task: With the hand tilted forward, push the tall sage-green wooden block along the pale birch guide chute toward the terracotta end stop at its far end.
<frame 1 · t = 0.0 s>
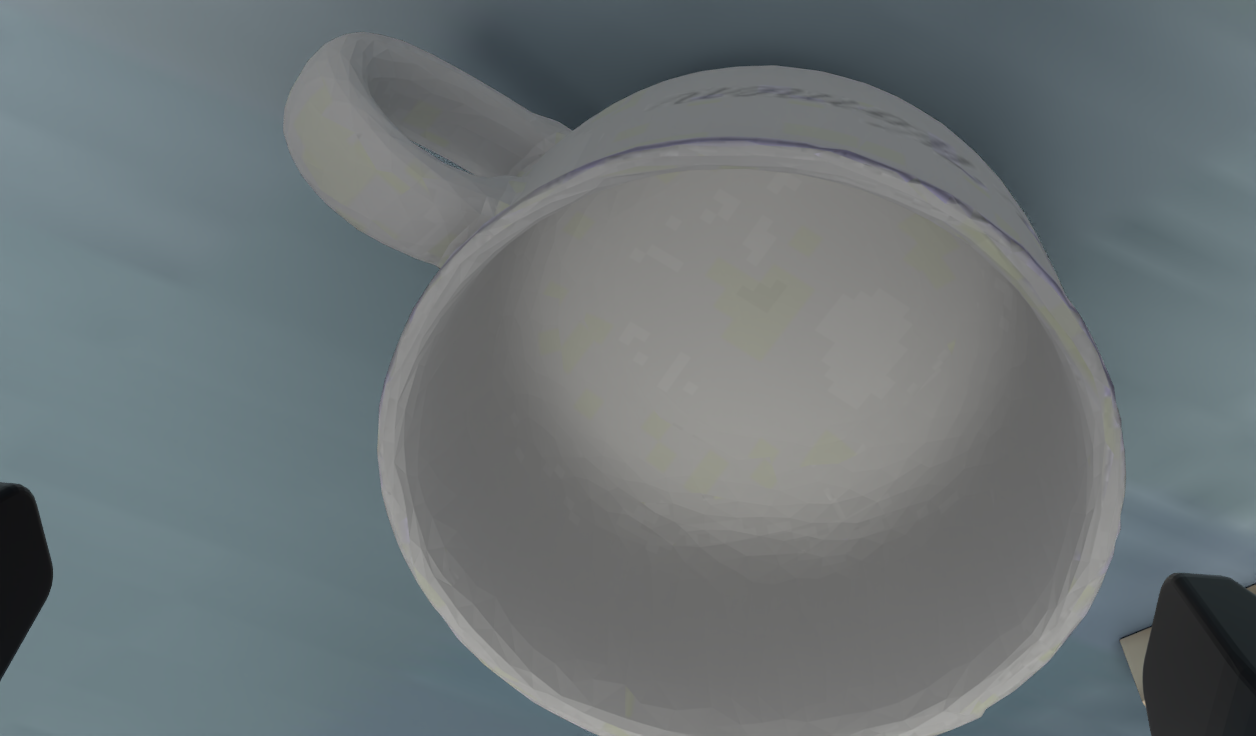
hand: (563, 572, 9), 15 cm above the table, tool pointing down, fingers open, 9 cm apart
teacup: (709, 239, 24), on the table
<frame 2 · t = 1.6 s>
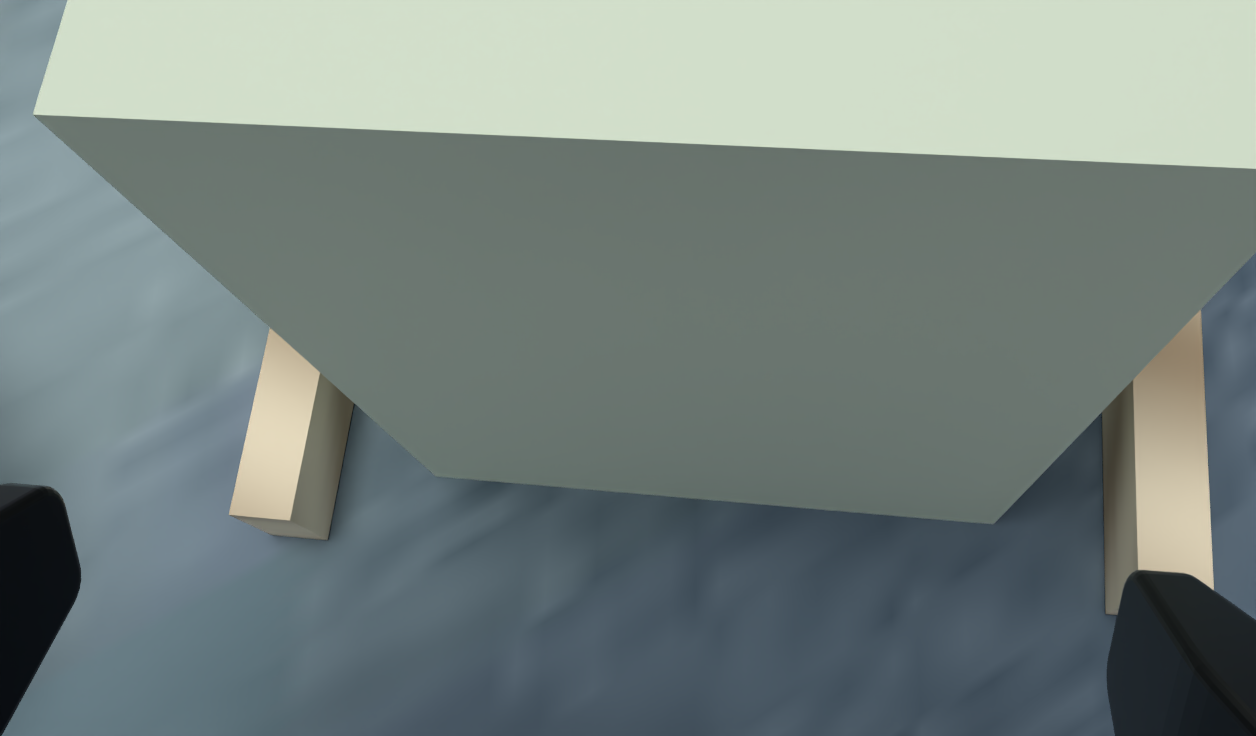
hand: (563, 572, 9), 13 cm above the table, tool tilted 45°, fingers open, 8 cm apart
sage block: (726, 267, 25), on the table
guide chute: (742, 99, 26), on the table
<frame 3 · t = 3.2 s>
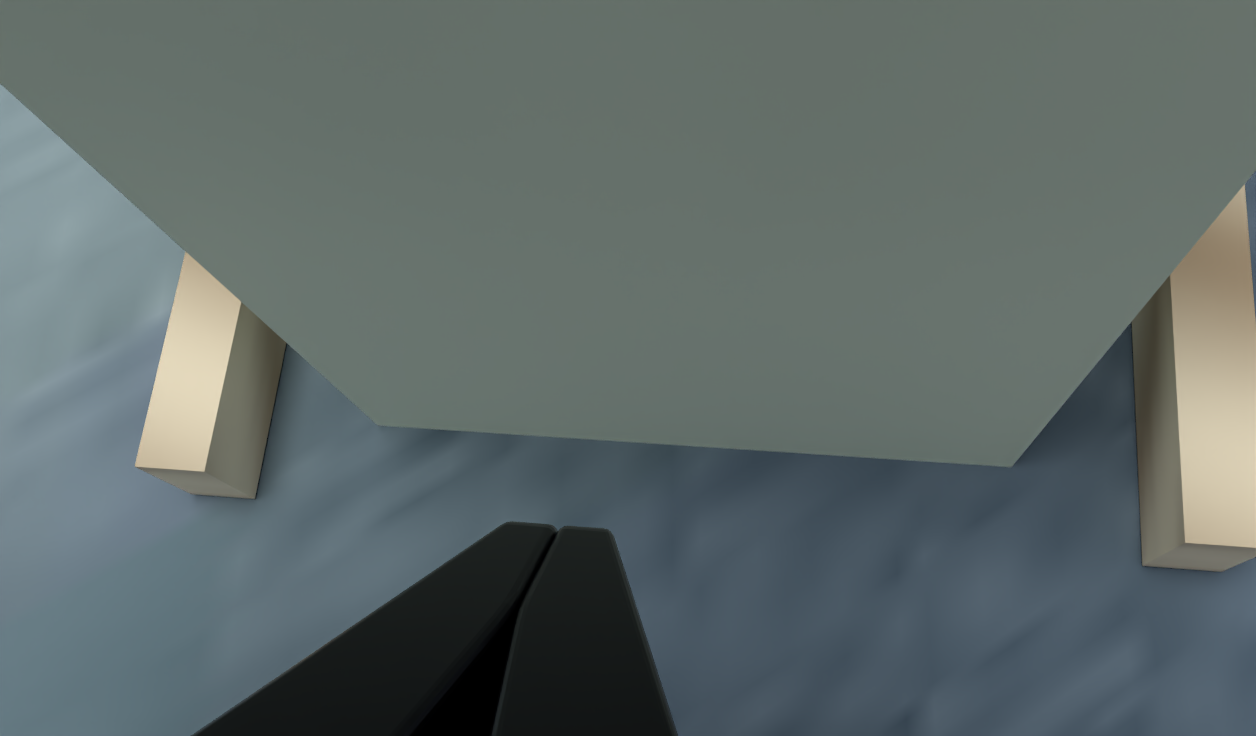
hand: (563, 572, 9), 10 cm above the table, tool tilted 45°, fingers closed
sage block: (705, 188, 22), on the table
guide chute: (720, 4, 23), on the table
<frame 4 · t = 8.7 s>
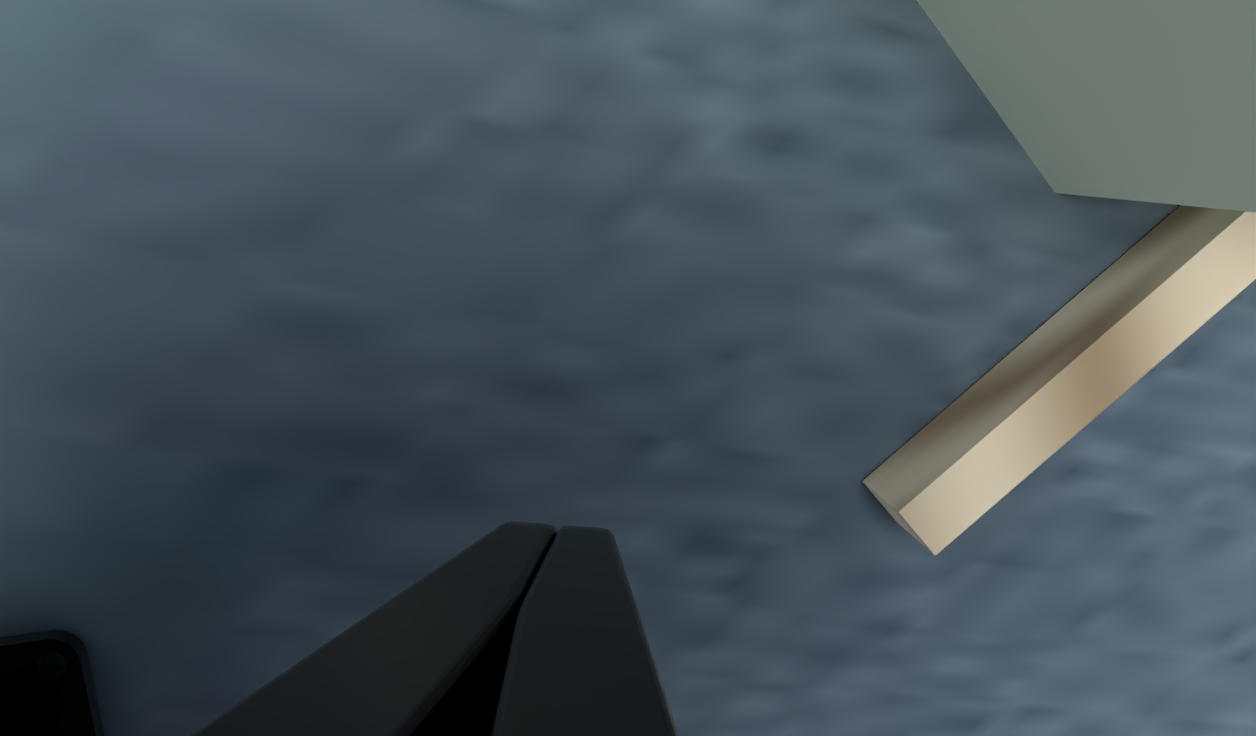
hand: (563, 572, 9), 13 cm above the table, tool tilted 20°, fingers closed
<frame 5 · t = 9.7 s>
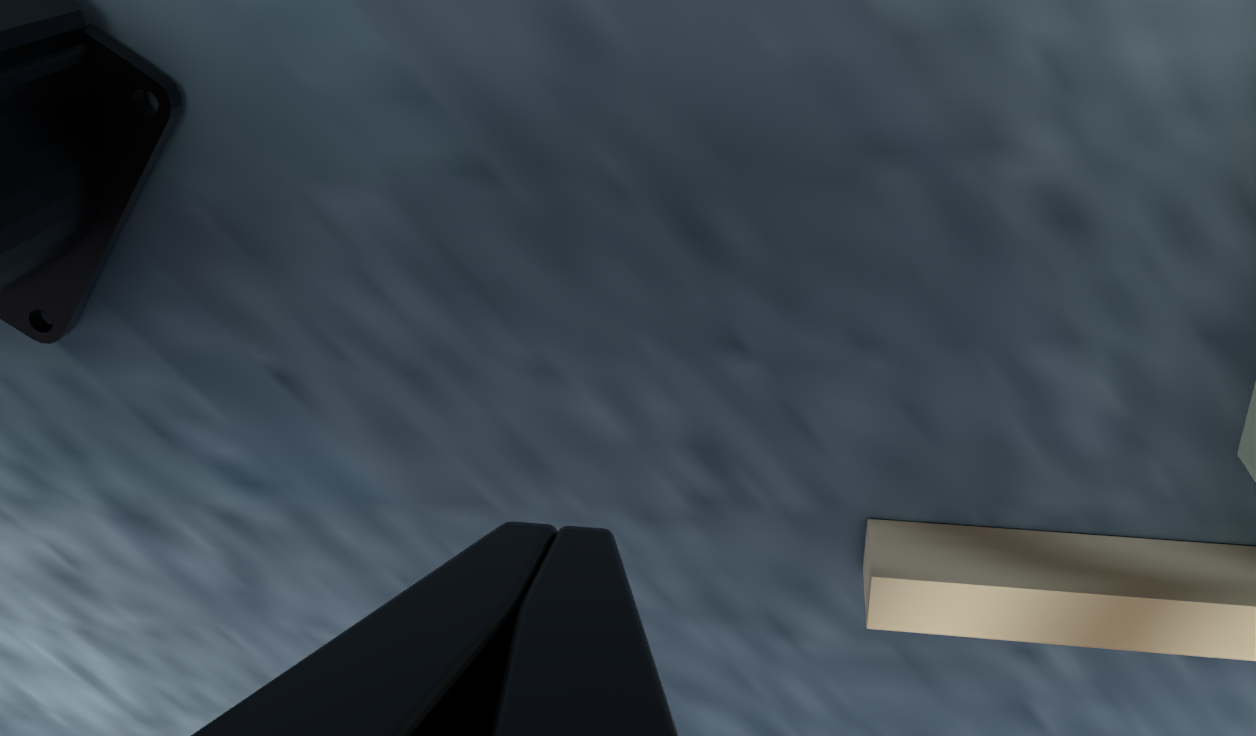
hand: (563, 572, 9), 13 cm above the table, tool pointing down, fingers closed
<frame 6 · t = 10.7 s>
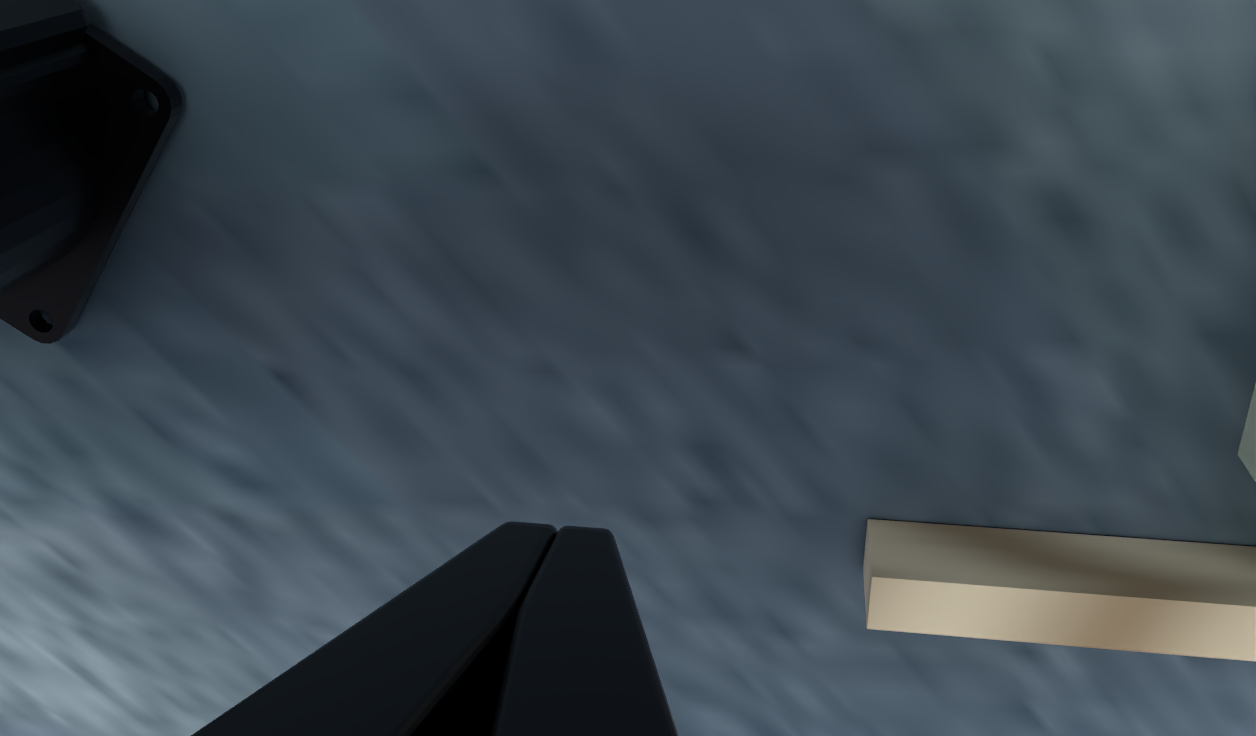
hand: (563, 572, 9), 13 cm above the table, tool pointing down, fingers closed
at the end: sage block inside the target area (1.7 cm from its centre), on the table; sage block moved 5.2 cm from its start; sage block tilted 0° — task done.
